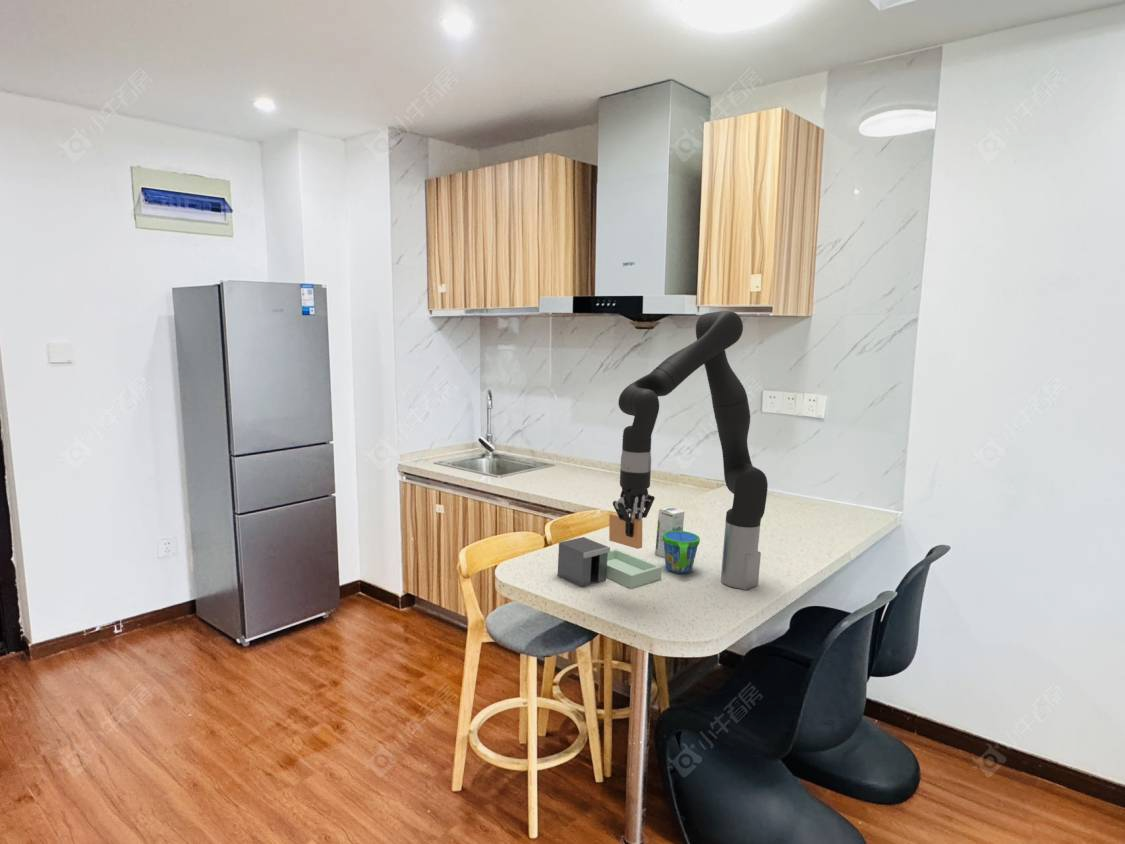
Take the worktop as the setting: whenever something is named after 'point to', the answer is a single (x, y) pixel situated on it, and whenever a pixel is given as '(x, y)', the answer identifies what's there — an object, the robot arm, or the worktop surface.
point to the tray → (631, 569)
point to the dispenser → (582, 561)
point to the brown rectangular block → (619, 534)
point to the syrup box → (668, 526)
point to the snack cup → (680, 550)
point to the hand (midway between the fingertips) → (632, 535)
